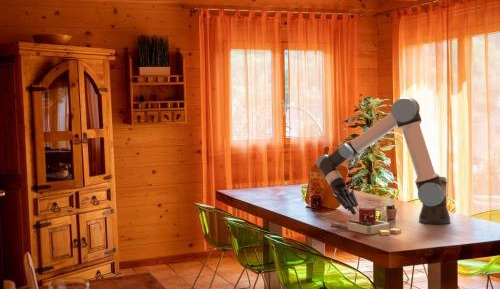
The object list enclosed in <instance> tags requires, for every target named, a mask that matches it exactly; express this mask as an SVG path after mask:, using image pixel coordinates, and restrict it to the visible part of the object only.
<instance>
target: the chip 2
mask: <svg viewBox="0 0 500 289" xmlns="http://www.w3.org/2000/svg"><path fill="white" fill-rule="evenodd" d="M389 231H390V234H391V235H399V234H401V233H402V228H396V227H393V228H391V229H389Z"/></svg>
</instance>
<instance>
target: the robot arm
mask: <svg viewBox="0 0 500 289" xmlns="http://www.w3.org/2000/svg"><path fill="white" fill-rule="evenodd" d="M420 108H421V107H420V103H419V102H418V101H417V100H416V99H415V98H413V97H406V96H404V97H400V98H398V99H396V100H395V101H394V102H393V104H392V106H391V110H390V111H389V113H388V114H386V115H385V116H384V117H383V118H381V119H380V120H379V121H378V122H376V123H375V124H373V125H372V126H371V127H369V128H368V129H367V130H365V131H364V132H362V133H360V134H359V135H358V136H356V137H355V138H354V139H352V140H351V141H350V142H348V143H345V142H344V143H342V144H341V145H340V146H338V148H337V149H335V150H334V151H333V152H332V153H331V154H329V155H328V154H322V155H321V156H319V157H318V158H317V159H316V165H317V168H318V169H319V171H320V173H322V175H323V177H324V179H325V180H326V181H327V183H328V185H329V186H330V188H331V190H332V191H333V194H332V197H333V198H335V199H336V200H337V201H338V203H339V204H340V205H341V206H342V207H343V208H344V209H345V210H347V211H348V212H350V213H351V214H352V215H353V217H354V218H355V220H357V221H359V208H358V205H359V202H358V200H357V197H356V195H355V190H354V189H349V188H348V187H347V183H346V181H345V179H344V178H343V176H342V174H341V173H340V172H339V170H338V168H339V167H341V166H342V165H343V164H344V163H345V162H347V161H350V160H352V159H354V158H355V157H356V156H358V155H359V154H360V153H361V152H363V151H364V150H366V149H367V148H368V147H370V146H372V144H375V143H376V142H378V140H380V139H382V138H383V137H384V136H386V135H387V134H388V133H390V132H392V131H393V130H395V128H397V127H398V129H399V130H401V131H402V133H403V137H404V141H405V143H406V146H407V149H408V153H409V156H410V159H411V162H412V166H413V170H414V172H415V175H416V179H415V181H414V182H415V185H416V189H417V197H418V200H419V202H420V203H421V204H422V206H421V210H420V213H419V216H418V222H420V223H422V224H427V225H429V224H430V225H445V224H449V223H451V217H450V213H449V209H448V205H447V201H448V200H447V199H448V198H447V197H448V196H447V194H448V193H447V184H448V182H447V178H446V177H445V176H440V175H439V174H438V173H436V172H435V168H434V166H433V163H432V159H431V156H430V152H429V150H428V147H427V143H426V141H425V137H424V133H423V131H422V128H421V123H422V122H423V120H422V117H421V114H420Z"/></svg>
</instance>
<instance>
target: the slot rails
mask: <svg viewBox="0 0 500 289" xmlns="http://www.w3.org/2000/svg"><path fill="white" fill-rule="evenodd" d="M349 222H351V223H355V224H359V221H357V220H356V219H349ZM330 225H331V227H334V226H335V227H334V228H338V227H340V228H339V229H344V230H347V231H349V230H348V224H342V223H338V222H331V223H330Z"/></svg>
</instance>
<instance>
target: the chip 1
mask: <svg viewBox="0 0 500 289" xmlns="http://www.w3.org/2000/svg"><path fill="white" fill-rule="evenodd" d="M379 234H380V236H390V235H391V233H390V231H389V230H380V233H379Z"/></svg>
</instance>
